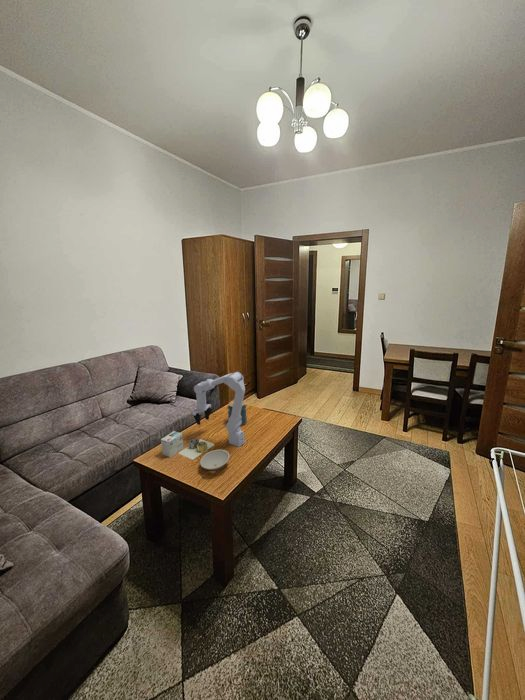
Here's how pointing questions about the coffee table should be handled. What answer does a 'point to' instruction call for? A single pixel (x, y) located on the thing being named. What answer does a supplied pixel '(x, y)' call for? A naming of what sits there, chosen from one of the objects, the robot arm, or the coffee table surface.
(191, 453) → the gear board
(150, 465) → the coffee table surface
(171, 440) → the light bulb box
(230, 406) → the canister
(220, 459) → the dish
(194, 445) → the gear
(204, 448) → the gear
